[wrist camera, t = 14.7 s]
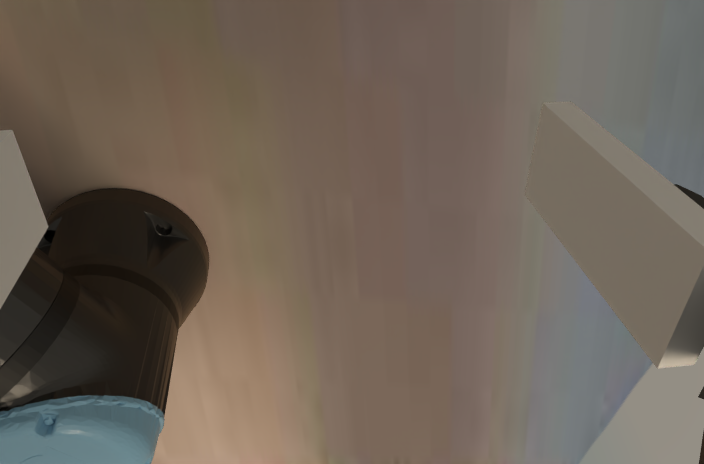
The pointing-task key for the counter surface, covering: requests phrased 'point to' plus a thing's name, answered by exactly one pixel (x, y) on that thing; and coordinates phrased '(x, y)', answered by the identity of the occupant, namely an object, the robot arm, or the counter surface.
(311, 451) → the counter surface
